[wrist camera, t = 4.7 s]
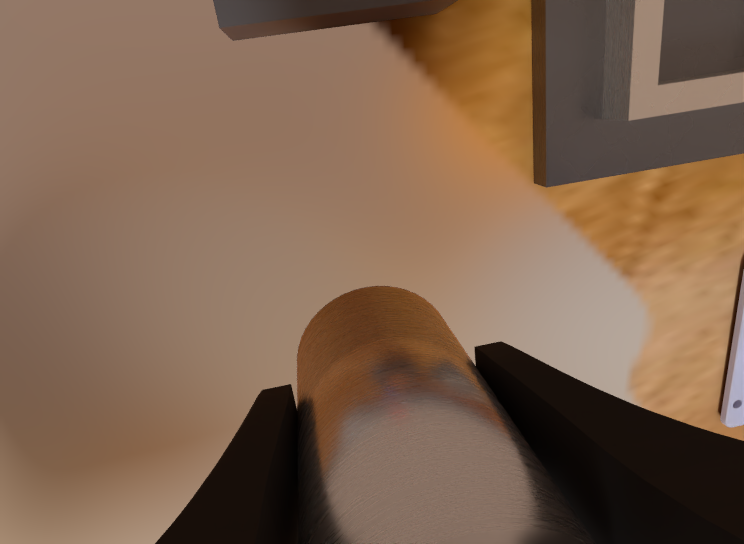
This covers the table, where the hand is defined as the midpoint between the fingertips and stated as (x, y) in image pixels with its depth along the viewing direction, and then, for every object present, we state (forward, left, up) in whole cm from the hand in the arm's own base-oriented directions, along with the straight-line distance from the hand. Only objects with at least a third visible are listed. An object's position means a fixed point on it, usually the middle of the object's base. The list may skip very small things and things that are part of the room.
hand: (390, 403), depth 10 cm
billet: (0, 0, -2) cm, 2 cm away
